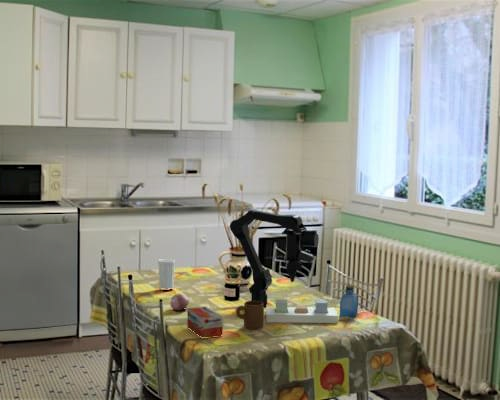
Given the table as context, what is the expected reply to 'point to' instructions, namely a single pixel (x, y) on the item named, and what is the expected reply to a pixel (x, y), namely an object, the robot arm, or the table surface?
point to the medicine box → (204, 322)
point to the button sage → (281, 305)
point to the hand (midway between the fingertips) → (292, 281)
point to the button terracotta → (301, 309)
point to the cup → (166, 273)
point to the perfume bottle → (349, 303)
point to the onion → (179, 302)
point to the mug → (252, 314)
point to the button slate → (321, 306)
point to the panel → (301, 316)
